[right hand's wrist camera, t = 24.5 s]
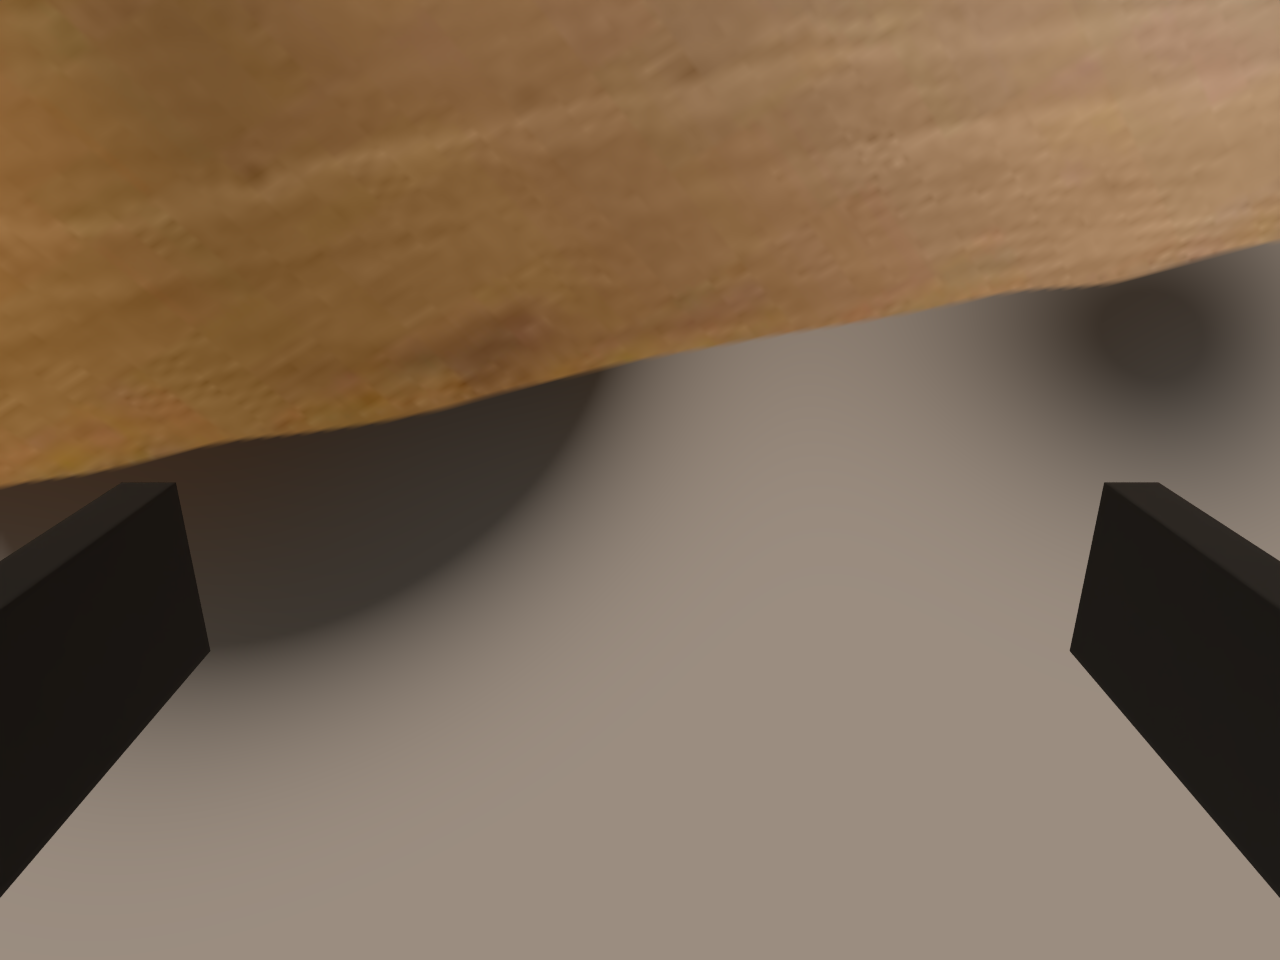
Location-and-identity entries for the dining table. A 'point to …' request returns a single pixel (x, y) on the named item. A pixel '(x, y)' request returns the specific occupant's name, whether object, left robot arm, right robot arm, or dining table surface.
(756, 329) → the dining table surface
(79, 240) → the dining table surface
